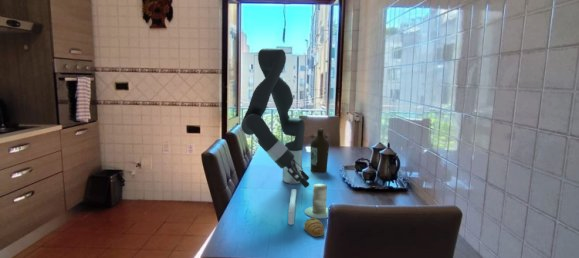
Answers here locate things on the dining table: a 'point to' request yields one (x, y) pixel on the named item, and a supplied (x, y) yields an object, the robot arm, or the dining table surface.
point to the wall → (292, 207)
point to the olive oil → (319, 153)
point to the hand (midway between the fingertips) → (307, 182)
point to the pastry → (314, 227)
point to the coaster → (309, 213)
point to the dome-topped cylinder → (319, 198)
